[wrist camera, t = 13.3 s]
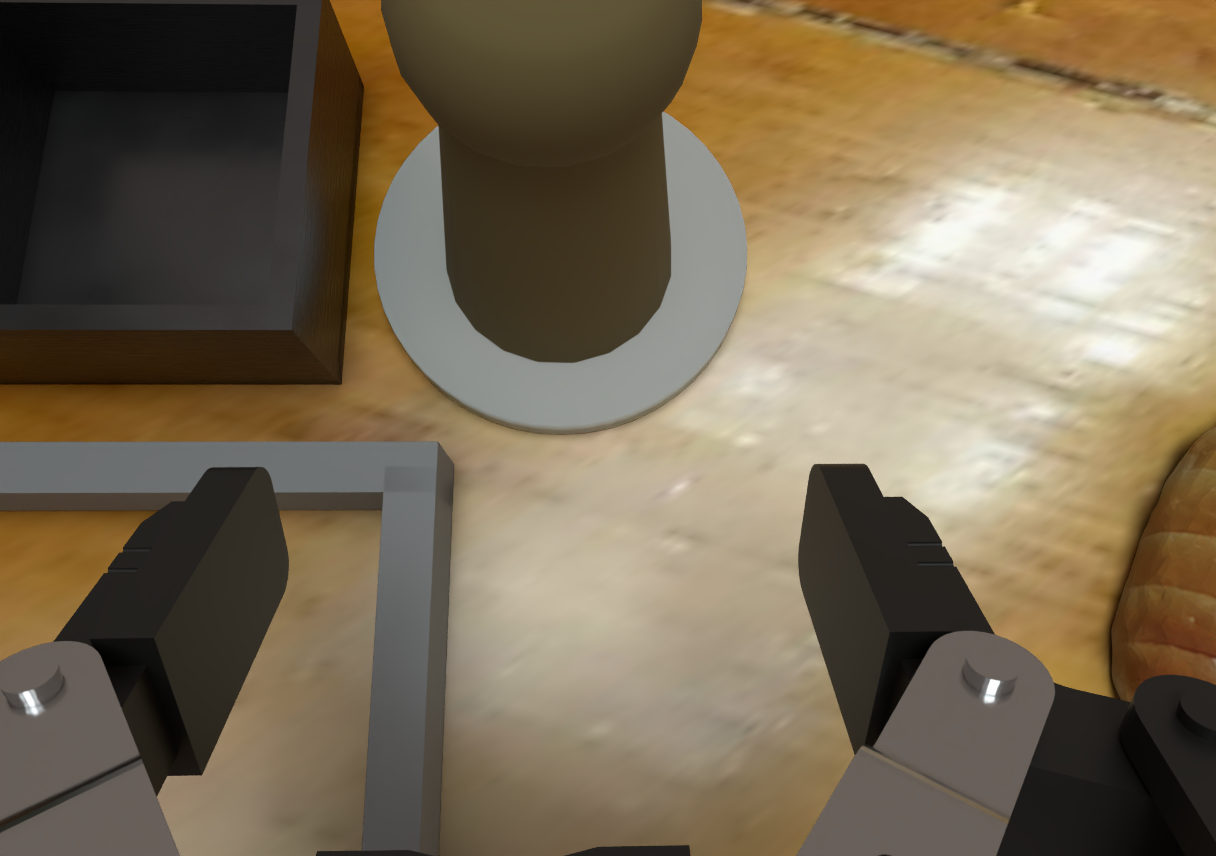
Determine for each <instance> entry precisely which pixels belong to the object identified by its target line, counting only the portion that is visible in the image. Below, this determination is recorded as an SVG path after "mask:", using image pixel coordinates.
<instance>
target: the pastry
mask: <svg viewBox="0 0 1216 856" xmlns="http://www.w3.org/2000/svg"><path fill="white" fill-rule="evenodd" d="M1111 636H1112V679H1113V683H1114V686H1115V688H1116V691H1117V693H1118V695H1119V697H1120V700H1124V701H1128V702H1131V700H1132V698H1133V695H1134V693H1135V691H1136V689H1137V688H1138V686H1139V685H1140V684H1141V683H1142V682H1143V681H1145V680H1146V679H1149V678H1151V677H1154V676H1159V675H1182V676H1188V677H1193V678H1197V679H1200V680H1204V681H1207V682H1210V683H1212V684H1215V685H1216V426H1215V427H1213V428H1211V429H1209V430H1208V431H1206V432H1204V433H1203V434H1202V435H1201V436H1200V437H1199V438H1198V439H1197V440H1196V441H1195V442H1194V443H1193V444H1192V446H1191V447H1190V449H1189V450H1188V451H1187V453H1186V454H1185V455H1184V457H1183V458H1182V460H1181V461H1180V462H1179V463H1178V465H1177V466H1176V468H1175V469H1174V470H1173V472H1172V473H1171V474H1170V475H1169V476H1168V478H1167V480H1166V482H1165V484H1164V487H1163V489H1162V492H1161V495H1160V497H1159V500H1158V503H1157V505H1156V506H1155V507H1154V509H1153V510H1152V512H1151V514H1150V519H1149V522H1148V524H1147V526H1146V528H1145V530H1144V532H1143V534H1142V536H1141V539H1140V541H1139V545H1138V549H1137V553H1136V556H1135V558H1134V561H1133V564H1132V567H1131V570H1130V574H1129V576H1128V578H1127V581H1126V583H1125V586H1124V589H1123V592H1122V595H1121V598H1120V601H1119V604H1118V608H1117V612H1116V615H1115V619H1114V622H1113V625H1112V629H1111Z"/></svg>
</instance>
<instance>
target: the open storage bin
mask: <svg viewBox="0 0 1216 856" xmlns="http://www.w3.org/2000/svg"><path fill="white" fill-rule="evenodd" d="M363 88H364V86H363V83H362V81H361V78H360V76H359V73H358V71H357V68H356V66H355V63H354V61H353V58H352V56H351V53H350V51H349V48H348V45H347V43H346V40H345V38H344V35H343V33H342V30H341V28H340V25H339V23H338V20H337V18H336V15H335V13H334V10H333V8H332V5H331V3H330V0H0V384H341V380H342V367H343V353H344V340H345V327H346V314H347V300H348V287H349V274H350V261H351V247H352V234H353V221H354V208H355V194H356V181H357V168H358V154H359V141H360V128H361V115H362V101H363Z"/></svg>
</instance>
